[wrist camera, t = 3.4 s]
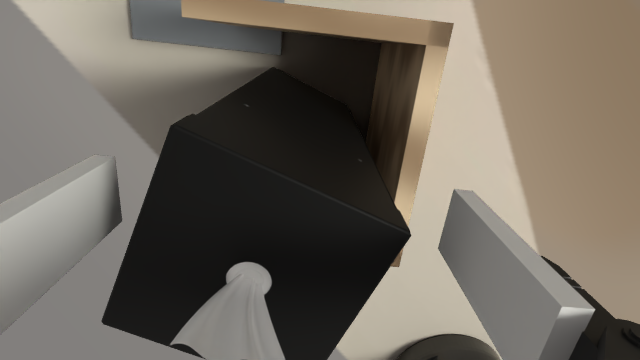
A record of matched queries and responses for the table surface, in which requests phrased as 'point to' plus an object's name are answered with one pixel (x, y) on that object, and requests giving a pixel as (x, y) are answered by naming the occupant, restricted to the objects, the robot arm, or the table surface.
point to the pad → (197, 29)
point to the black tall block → (258, 229)
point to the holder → (391, 81)
